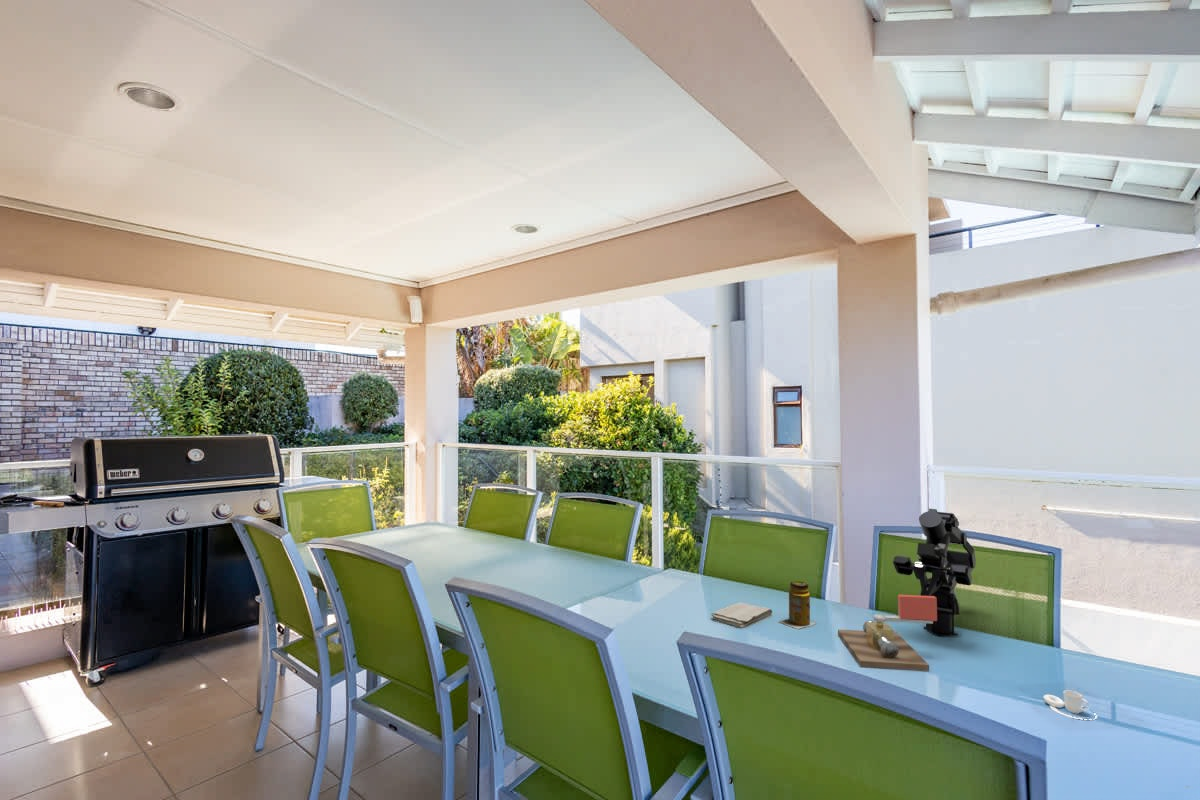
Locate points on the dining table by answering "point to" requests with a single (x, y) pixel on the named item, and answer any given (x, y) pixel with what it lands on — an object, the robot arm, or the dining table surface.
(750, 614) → the washcloth
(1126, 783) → the dining table surface
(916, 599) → the valve lever
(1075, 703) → the teacup and saucer
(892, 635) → the ball valve
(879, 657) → the mounting board
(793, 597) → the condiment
